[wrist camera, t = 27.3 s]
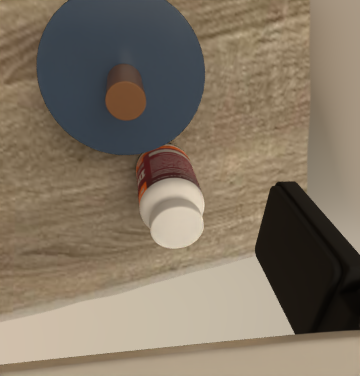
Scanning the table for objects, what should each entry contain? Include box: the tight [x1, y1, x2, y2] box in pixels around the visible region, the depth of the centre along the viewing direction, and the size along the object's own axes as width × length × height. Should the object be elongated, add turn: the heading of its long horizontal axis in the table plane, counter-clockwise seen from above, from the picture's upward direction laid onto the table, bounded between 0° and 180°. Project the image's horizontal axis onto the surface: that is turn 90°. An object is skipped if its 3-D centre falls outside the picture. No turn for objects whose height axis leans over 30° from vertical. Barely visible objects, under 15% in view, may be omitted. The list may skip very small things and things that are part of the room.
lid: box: [37, 0, 205, 155], centre depth 24 cm, size 13×13×6 cm
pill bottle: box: [136, 144, 205, 249], centre depth 33 cm, size 6×6×11 cm
